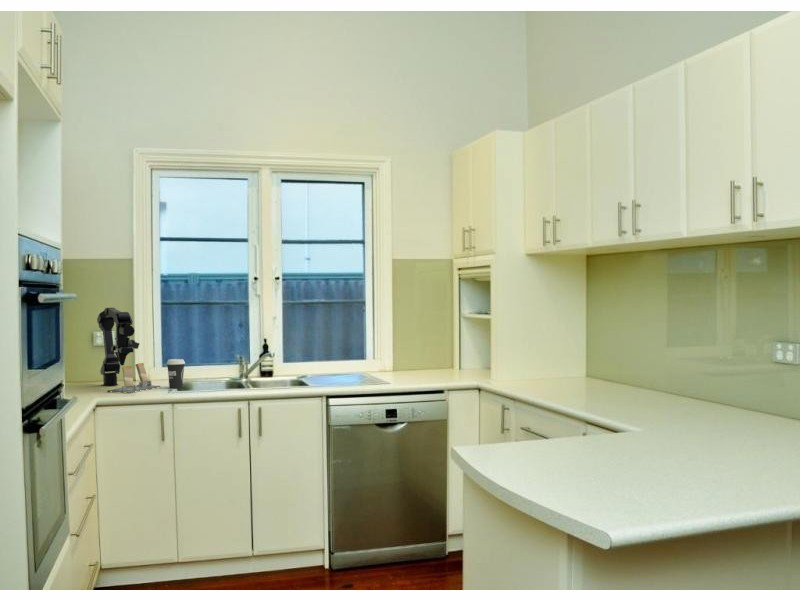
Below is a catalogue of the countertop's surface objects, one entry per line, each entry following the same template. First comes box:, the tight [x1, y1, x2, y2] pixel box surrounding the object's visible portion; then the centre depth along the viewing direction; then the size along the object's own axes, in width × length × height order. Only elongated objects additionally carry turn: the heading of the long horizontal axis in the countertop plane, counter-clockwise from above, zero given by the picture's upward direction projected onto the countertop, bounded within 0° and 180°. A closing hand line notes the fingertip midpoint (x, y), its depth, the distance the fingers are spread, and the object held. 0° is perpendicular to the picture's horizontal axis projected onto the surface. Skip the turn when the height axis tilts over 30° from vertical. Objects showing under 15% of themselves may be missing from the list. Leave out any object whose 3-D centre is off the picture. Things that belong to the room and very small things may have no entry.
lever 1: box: [121, 365, 135, 387], centre depth 342 cm, size 2×4×10 cm, turn 129°
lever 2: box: [135, 362, 149, 383], centre depth 357 cm, size 2×4×10 cm, turn 160°
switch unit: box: [106, 380, 161, 394], centre depth 349 cm, size 14×23×3 cm, turn 160°
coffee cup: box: [166, 358, 186, 390], centre depth 355 cm, size 10×10×15 cm
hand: (122, 365), depth 352 cm, fingers closed
